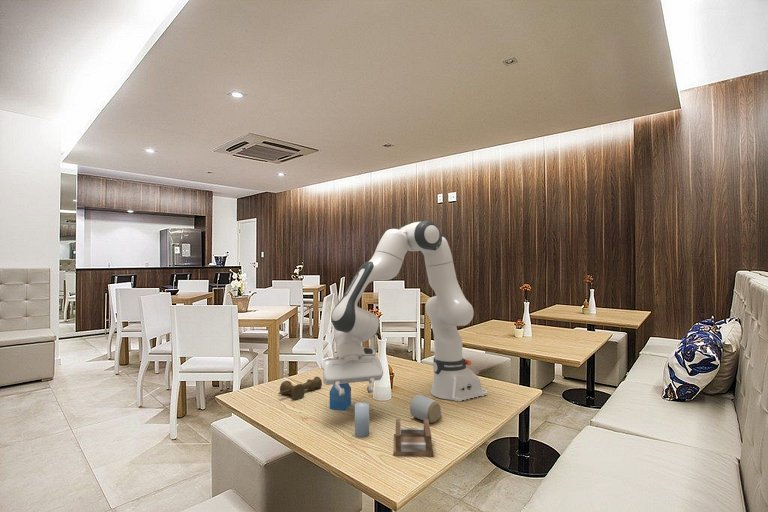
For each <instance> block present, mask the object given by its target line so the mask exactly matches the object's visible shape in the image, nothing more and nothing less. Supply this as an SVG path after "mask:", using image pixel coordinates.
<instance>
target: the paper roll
mask: <svg viewBox="0 0 768 512" xmlns="http://www.w3.org/2000/svg"><path fill="white" fill-rule="evenodd" d="M354 435H355V437H357V438H366V437H368V436H369V435H370V403H368V402H366V401H365V402H364V401H360V402H356V403H355V404H354Z"/></svg>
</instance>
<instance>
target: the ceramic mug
mask: <svg viewBox="0 0 768 512" xmlns="http://www.w3.org/2000/svg"><path fill="white" fill-rule="evenodd" d="M441 410H442V409H441V405H440V403H439V402H438V401H437V400H434V399H432V398H430V397H427V396H425V395H424V394H421V393H418V394H416V395H415V396H414V397H413V398H412V399H411V402H410V405H409V412H410V415H411V417H413V418H415V419H418V420H421V421H423V422H424V419H428V420H429V424H434V423H436V422H437V420H438V419H439V418H440V417H441V416H442V413H443V412H442V411H441Z"/></svg>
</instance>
